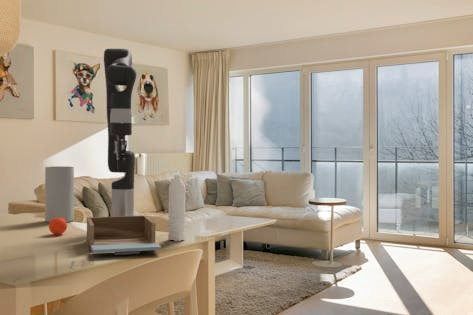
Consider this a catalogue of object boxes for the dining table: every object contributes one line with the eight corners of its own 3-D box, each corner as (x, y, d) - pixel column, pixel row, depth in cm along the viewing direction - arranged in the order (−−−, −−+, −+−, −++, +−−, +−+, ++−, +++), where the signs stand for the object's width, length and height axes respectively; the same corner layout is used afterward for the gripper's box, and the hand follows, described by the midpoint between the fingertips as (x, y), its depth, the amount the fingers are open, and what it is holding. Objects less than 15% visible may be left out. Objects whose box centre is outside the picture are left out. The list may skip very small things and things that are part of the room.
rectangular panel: (91, 245, 186) (93, 249, 177) (155, 242, 193) (160, 246, 183) (91, 251, 186) (93, 256, 176) (155, 248, 193) (161, 253, 183)
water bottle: (169, 241, 208) (170, 174, 208) (166, 238, 215) (167, 173, 214) (192, 240, 211) (193, 174, 210) (189, 237, 217) (189, 173, 216)
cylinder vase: (39, 221, 256) (39, 167, 255) (62, 218, 266) (62, 166, 265) (56, 224, 248) (56, 168, 248) (79, 221, 259) (79, 167, 258)
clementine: (49, 233, 225) (49, 215, 224) (67, 232, 226) (67, 215, 226) (48, 236, 217) (48, 218, 217) (66, 235, 219) (67, 217, 219)
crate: (86, 241, 207) (86, 217, 207) (146, 238, 214) (146, 215, 213) (90, 251, 188) (90, 225, 188) (155, 248, 195) (155, 223, 194)
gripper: (108, 122, 204) (108, 169, 204) (112, 121, 191) (111, 171, 192) (129, 122, 206) (128, 169, 206) (134, 121, 193) (133, 171, 194)
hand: (120, 170), depth 199 cm, fingers closed
